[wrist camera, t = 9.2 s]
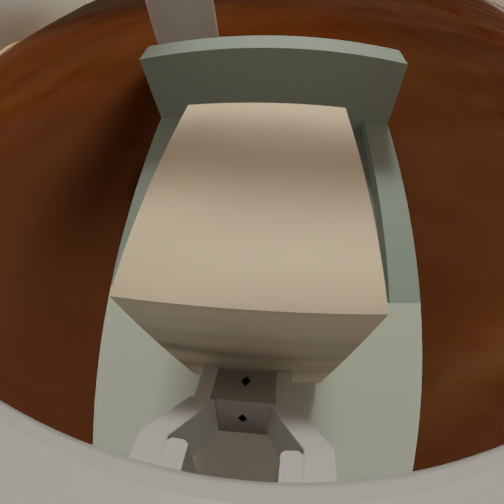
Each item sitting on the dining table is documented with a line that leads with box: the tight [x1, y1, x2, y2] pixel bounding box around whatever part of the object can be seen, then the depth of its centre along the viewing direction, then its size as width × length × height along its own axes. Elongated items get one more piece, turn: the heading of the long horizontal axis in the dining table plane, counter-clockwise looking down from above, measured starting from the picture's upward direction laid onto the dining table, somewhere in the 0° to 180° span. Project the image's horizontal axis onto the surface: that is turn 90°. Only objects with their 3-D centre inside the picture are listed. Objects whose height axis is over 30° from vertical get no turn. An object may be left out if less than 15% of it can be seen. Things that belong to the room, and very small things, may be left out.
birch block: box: [109, 103, 388, 383], centre depth 12 cm, size 8×6×9 cm
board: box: [93, 36, 422, 482], centre depth 13 cm, size 34×18×8 cm, turn 176°
